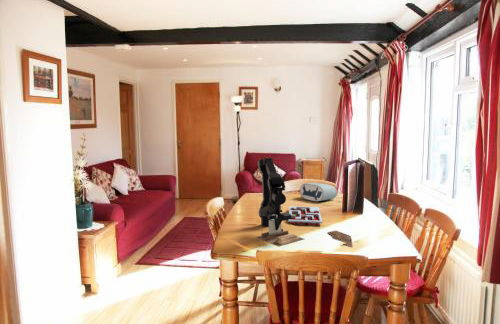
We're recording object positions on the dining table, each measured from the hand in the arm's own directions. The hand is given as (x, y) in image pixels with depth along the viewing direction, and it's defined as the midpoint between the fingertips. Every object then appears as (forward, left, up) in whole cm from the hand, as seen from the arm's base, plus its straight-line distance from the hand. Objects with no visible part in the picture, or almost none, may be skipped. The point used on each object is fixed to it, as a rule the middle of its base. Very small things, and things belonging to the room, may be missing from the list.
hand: (275, 229), depth 187 cm
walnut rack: (+4, 0, -4) cm, 6 cm away
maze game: (-18, +41, -5) cm, 45 cm away
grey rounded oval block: (-49, +87, -5) cm, 100 cm away
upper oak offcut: (+10, 0, -2) cm, 10 cm away
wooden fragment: (+22, +27, -5) cm, 35 cm away
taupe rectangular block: (0, 0, -4) cm, 4 cm away
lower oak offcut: (+10, 0, -4) cm, 10 cm away
